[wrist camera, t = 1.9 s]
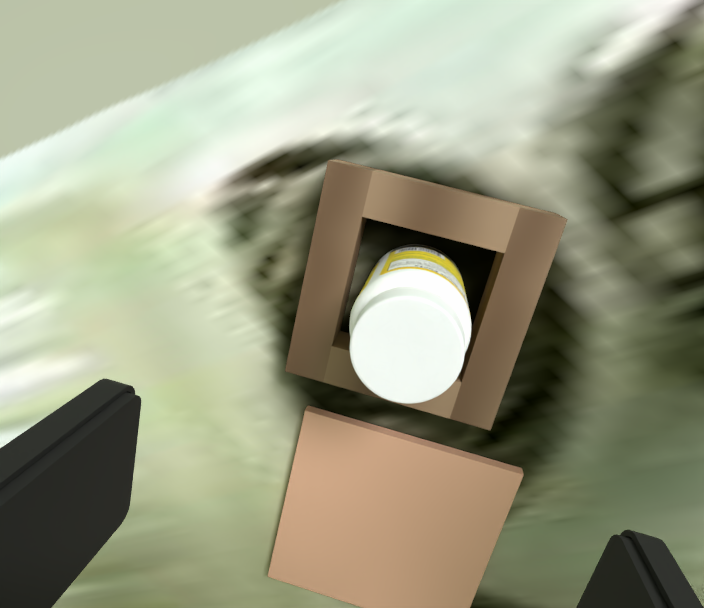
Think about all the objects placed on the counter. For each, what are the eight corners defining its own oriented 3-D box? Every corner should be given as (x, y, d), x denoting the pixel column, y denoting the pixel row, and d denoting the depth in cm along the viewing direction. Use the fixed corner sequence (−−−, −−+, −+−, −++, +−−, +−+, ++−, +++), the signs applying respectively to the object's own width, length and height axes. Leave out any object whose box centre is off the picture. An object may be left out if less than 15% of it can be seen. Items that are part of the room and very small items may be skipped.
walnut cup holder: (556, 213, 23) (567, 219, 21) (486, 408, 26) (490, 430, 24) (337, 159, 24) (328, 160, 22) (296, 354, 27) (284, 371, 25)
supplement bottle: (403, 351, 26) (387, 437, 18) (349, 278, 26) (309, 334, 18) (483, 301, 25) (504, 371, 17) (428, 223, 24) (423, 257, 16)
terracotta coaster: (521, 468, 27) (523, 475, 27) (457, 629, 31) (457, 638, 30) (307, 405, 28) (304, 410, 28) (270, 569, 32) (267, 576, 31)
